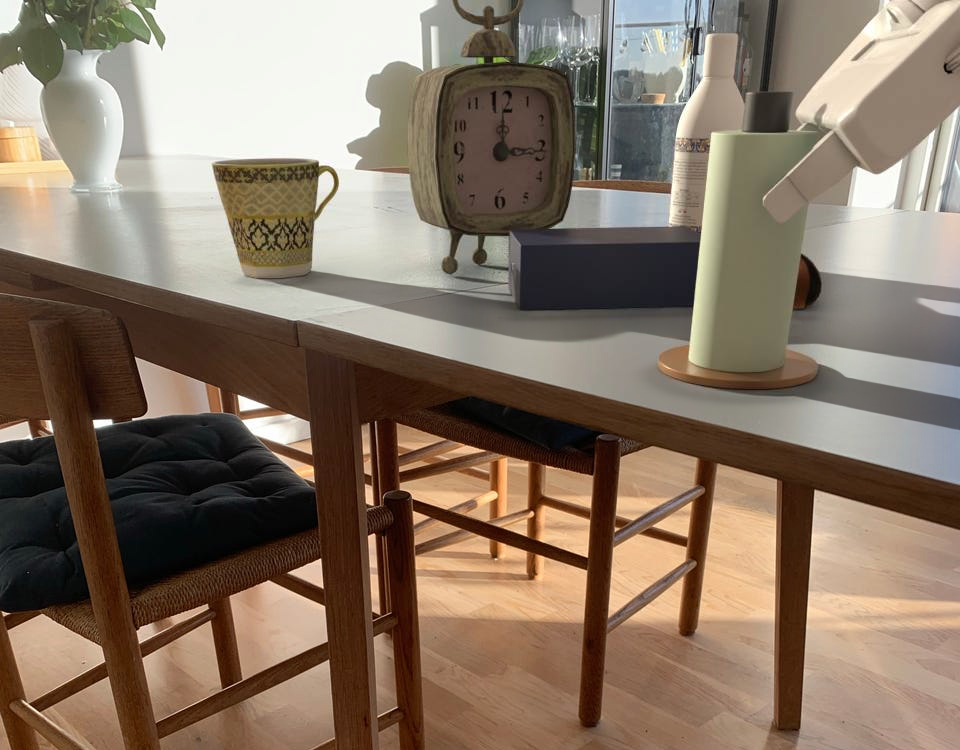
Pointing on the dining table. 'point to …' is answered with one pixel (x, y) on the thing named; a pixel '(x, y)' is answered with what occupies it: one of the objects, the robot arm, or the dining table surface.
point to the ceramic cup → (272, 212)
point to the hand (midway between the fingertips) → (761, 203)
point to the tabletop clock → (490, 141)
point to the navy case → (603, 267)
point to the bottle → (748, 242)
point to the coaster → (790, 374)
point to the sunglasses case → (807, 284)
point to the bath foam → (704, 129)
